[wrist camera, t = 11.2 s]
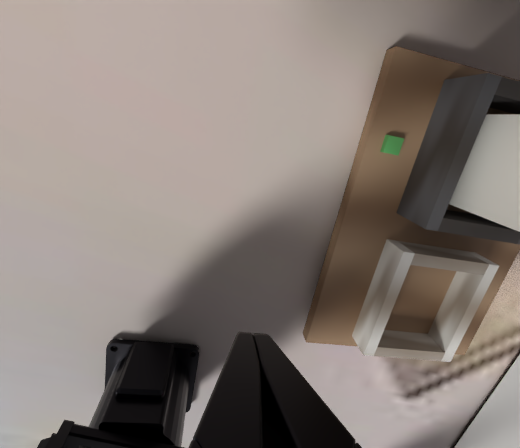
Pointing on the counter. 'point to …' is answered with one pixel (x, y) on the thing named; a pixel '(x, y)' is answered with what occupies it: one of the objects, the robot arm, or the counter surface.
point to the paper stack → (497, 416)
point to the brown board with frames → (415, 218)
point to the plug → (493, 172)
